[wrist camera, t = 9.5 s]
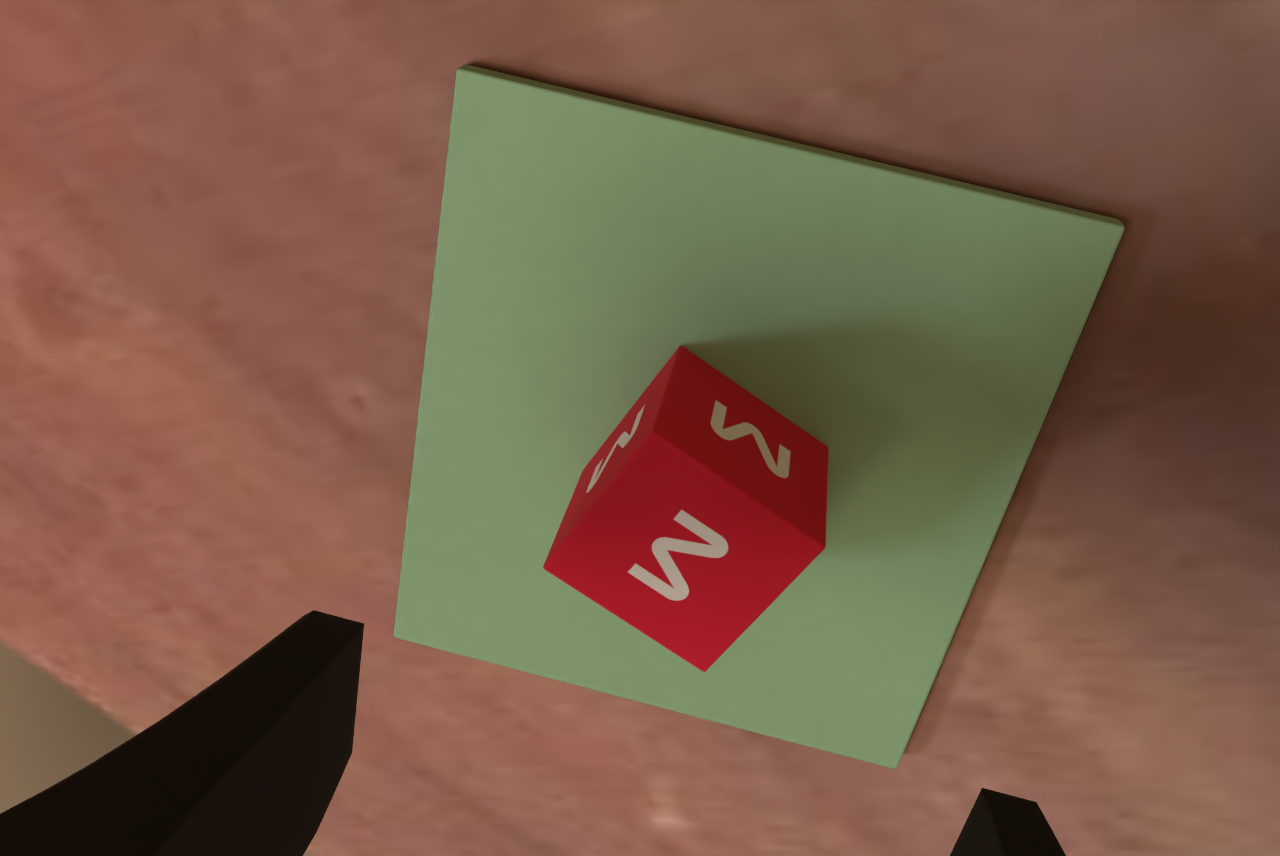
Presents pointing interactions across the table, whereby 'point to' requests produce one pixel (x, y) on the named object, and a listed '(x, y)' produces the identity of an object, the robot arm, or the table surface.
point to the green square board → (751, 357)
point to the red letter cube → (694, 512)
